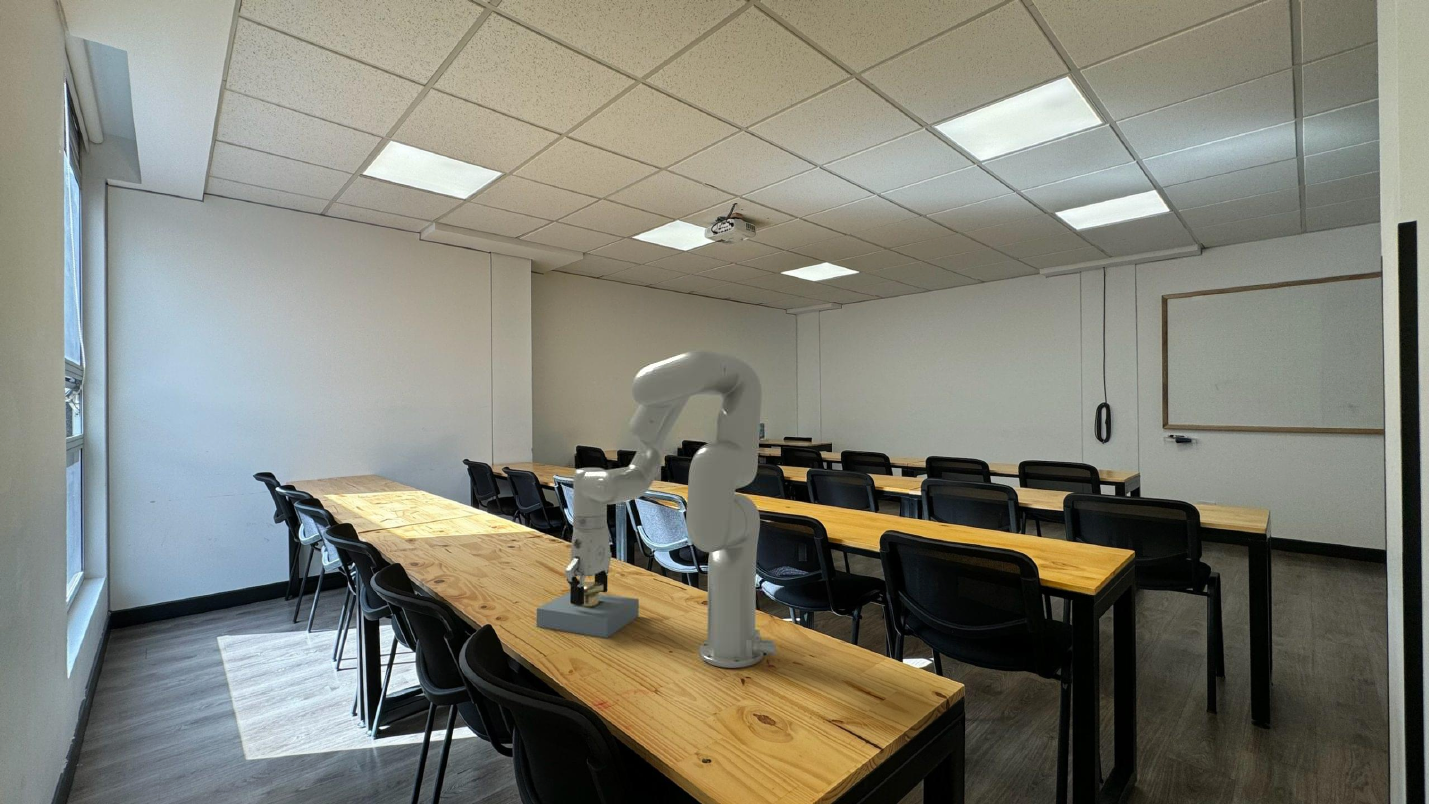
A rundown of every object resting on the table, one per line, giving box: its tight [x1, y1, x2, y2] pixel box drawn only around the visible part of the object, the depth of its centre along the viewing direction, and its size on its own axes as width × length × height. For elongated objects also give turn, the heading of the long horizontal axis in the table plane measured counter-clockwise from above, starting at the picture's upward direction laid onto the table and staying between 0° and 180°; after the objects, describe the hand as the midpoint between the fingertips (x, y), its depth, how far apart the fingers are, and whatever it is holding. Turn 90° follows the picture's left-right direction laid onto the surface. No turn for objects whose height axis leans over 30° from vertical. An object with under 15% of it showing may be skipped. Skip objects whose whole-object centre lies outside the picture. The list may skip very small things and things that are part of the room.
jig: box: [536, 591, 640, 639], centre depth 131 cm, size 18×14×4 cm
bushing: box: [581, 581, 603, 609], centre depth 131 cm, size 6×6×8 cm
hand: (589, 597), depth 131 cm, fingers open, 9 cm apart
